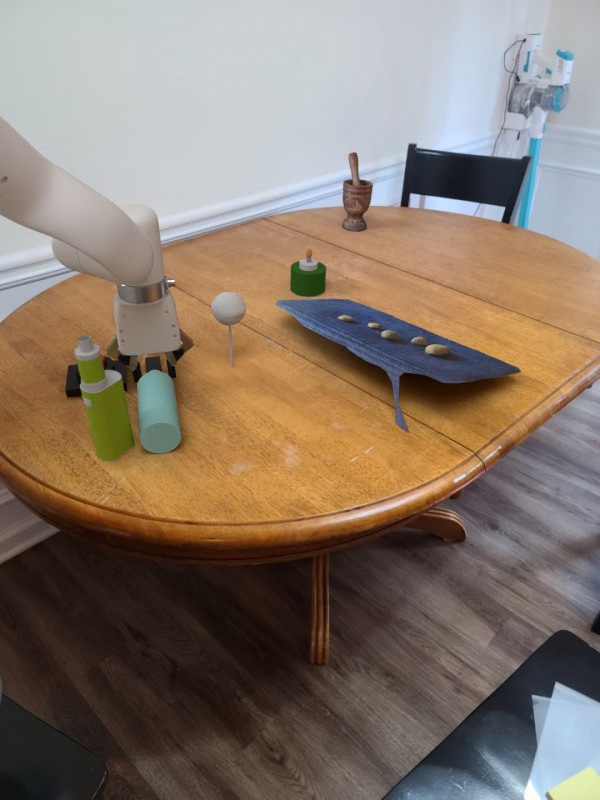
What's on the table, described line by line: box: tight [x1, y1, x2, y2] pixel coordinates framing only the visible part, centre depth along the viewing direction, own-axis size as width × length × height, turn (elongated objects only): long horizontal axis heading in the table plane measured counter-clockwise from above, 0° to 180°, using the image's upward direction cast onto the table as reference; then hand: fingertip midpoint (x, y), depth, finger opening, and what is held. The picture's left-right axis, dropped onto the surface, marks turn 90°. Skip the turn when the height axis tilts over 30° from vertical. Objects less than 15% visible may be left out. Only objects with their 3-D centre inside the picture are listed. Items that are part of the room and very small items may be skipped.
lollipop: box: [211, 290, 247, 368], centre depth 101 cm, size 6×6×15 cm
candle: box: [289, 248, 327, 298], centre depth 131 cm, size 8×8×10 cm
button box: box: [64, 355, 128, 399], centre depth 100 cm, size 10×8×4 cm
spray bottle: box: [136, 355, 182, 455], centre depth 92 cm, size 6×6×20 cm
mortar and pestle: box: [341, 151, 374, 233], centre depth 166 cm, size 12×9×20 cm
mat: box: [275, 297, 522, 434], centre depth 109 cm, size 45×27×12 cm, turn 42°
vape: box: [73, 334, 135, 463], centre depth 80 cm, size 4×6×20 cm, turn 147°
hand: (155, 382), depth 100 cm, fingers open, 4 cm apart
